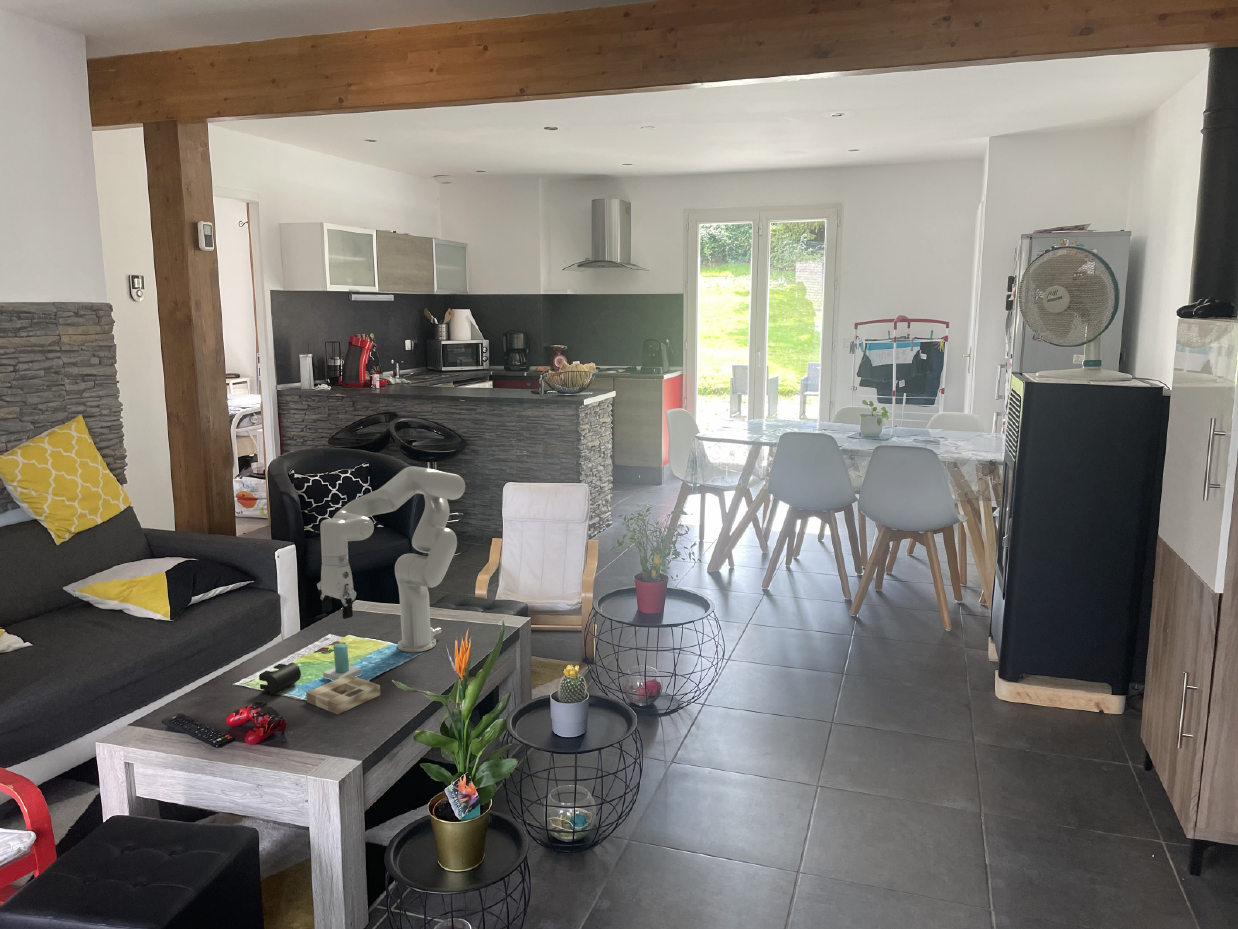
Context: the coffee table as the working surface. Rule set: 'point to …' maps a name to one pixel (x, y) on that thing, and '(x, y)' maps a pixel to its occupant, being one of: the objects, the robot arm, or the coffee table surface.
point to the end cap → (279, 678)
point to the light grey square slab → (335, 676)
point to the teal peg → (341, 658)
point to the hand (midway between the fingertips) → (337, 614)
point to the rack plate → (338, 703)
